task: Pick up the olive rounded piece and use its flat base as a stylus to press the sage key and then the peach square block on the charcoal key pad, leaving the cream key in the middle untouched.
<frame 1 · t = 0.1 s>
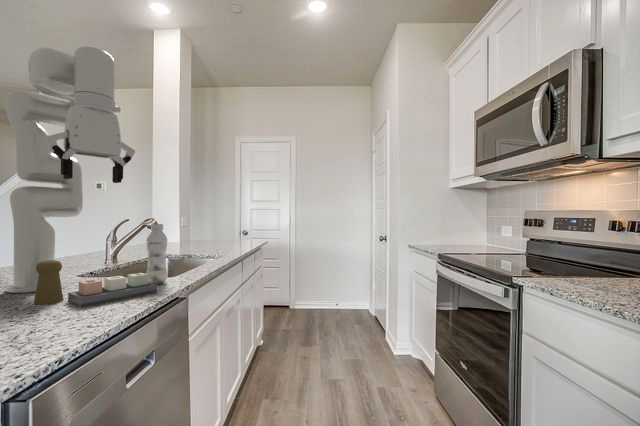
hand: (93, 180, 72), 31 cm above the counter, tool pointing down, fingers open, 9 cm apart
plastic bottle: (156, 284, 106), on the counter
key cream: (115, 282, 89), point 4 cm above the counter, slide at 0.0 cm
key sage: (137, 279, 94), point 4 cm above the counter, slide at 0.0 cm
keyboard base: (115, 297, 89), on the counter
olive rounded piece: (48, 302, 84), on the counter
peach square block: (90, 286, 84), point 4 cm above the counter, slide at 0.0 cm
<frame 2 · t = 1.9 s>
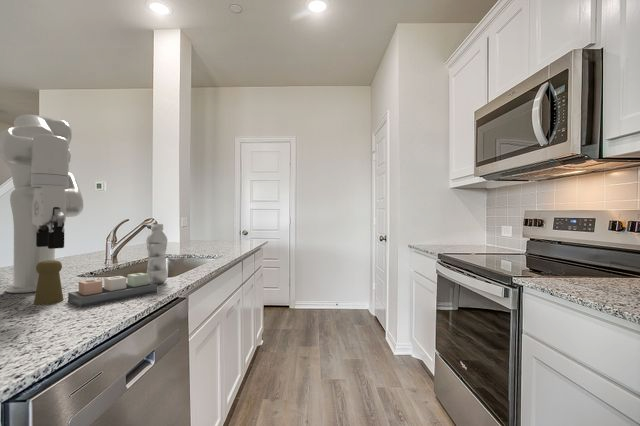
hand: (49, 247, 83), 15 cm above the counter, tool pointing down, fingers open, 9 cm apart
nothing on the counter moved.
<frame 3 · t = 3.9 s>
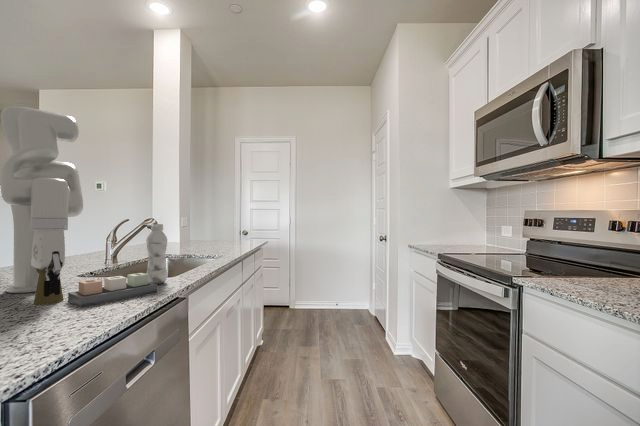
hand: (49, 293, 84), 2 cm above the counter, tool pointing down, fingers closed on olive rounded piece, 4 cm apart
olive rounded piece: (48, 302, 84), on the counter, touching gripper
everything else where it was.
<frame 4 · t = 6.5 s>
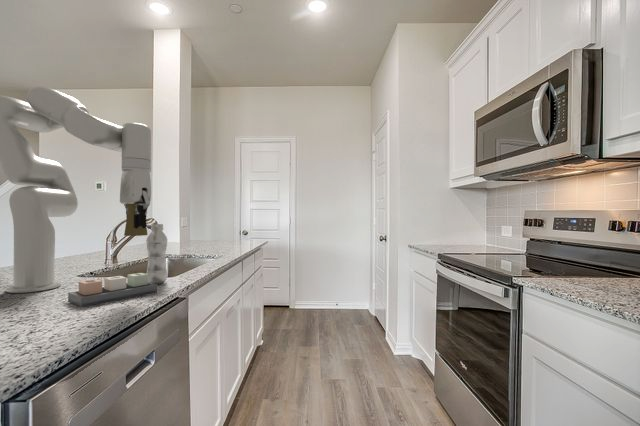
hand: (136, 227, 94), 20 cm above the counter, tool pointing down, fingers closed on olive rounded piece, 4 cm apart
olive rounded piece: (136, 235, 94), point 17 cm above the counter, touching gripper
everything else where it was.
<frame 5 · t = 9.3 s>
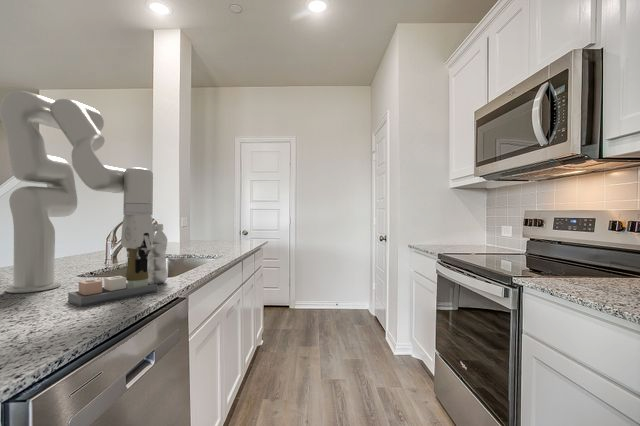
hand: (137, 270, 94), 7 cm above the counter, tool pointing down, fingers closed on olive rounded piece, 4 cm apart
key sage: (137, 283, 94), point 3 cm above the counter, slide at 1.3 cm, touching olive rounded piece
olive rounded piece: (137, 279, 94), point 4 cm above the counter, touching gripper, key sage
everything else where it was.
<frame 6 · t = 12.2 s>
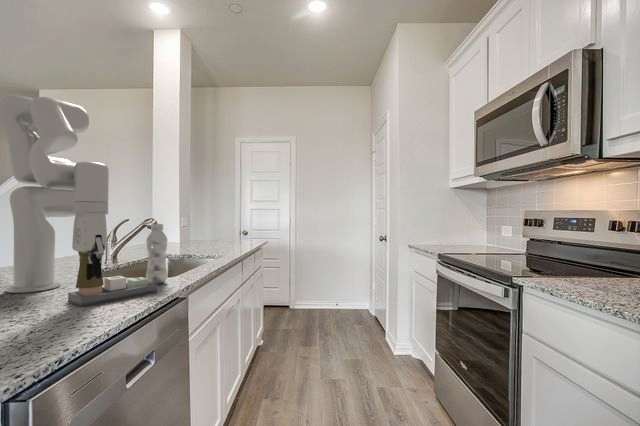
hand: (90, 277, 84), 7 cm above the counter, tool pointing down, fingers closed on olive rounded piece, 4 cm apart
key sage: (137, 283, 94), point 3 cm above the counter, slide at 1.4 cm
olive rounded piece: (90, 286, 84), point 4 cm above the counter, touching gripper
peach square block: (90, 291, 84), point 3 cm above the counter, slide at 1.3 cm
everything else where it was.
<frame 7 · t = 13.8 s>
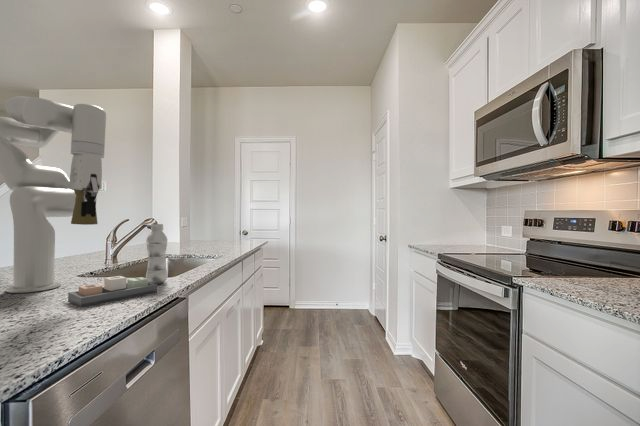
hand: (85, 215, 89), 23 cm above the counter, tool pointing down, fingers closed on olive rounded piece, 4 cm apart
olive rounded piece: (84, 224, 89), point 20 cm above the counter, touching gripper
everything else where it was.
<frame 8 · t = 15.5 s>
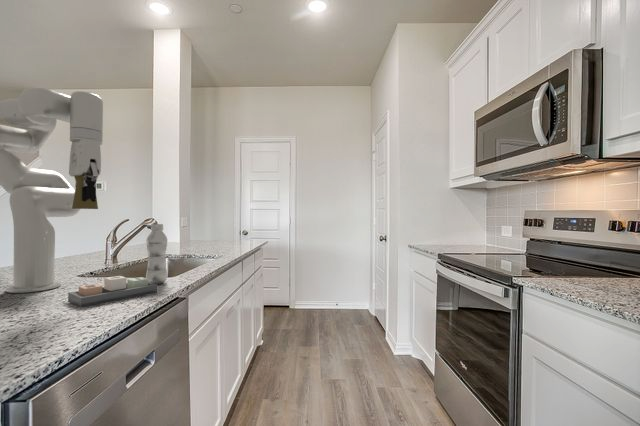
hand: (85, 200, 90), 27 cm above the counter, tool pointing down, fingers closed on olive rounded piece, 4 cm apart
olive rounded piece: (85, 209, 90), point 25 cm above the counter, touching gripper
everything else where it was.
at the end: key sage slide at 1.4 cm; peach square block slide at 1.3 cm; key cream slide at 0.0 cm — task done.
